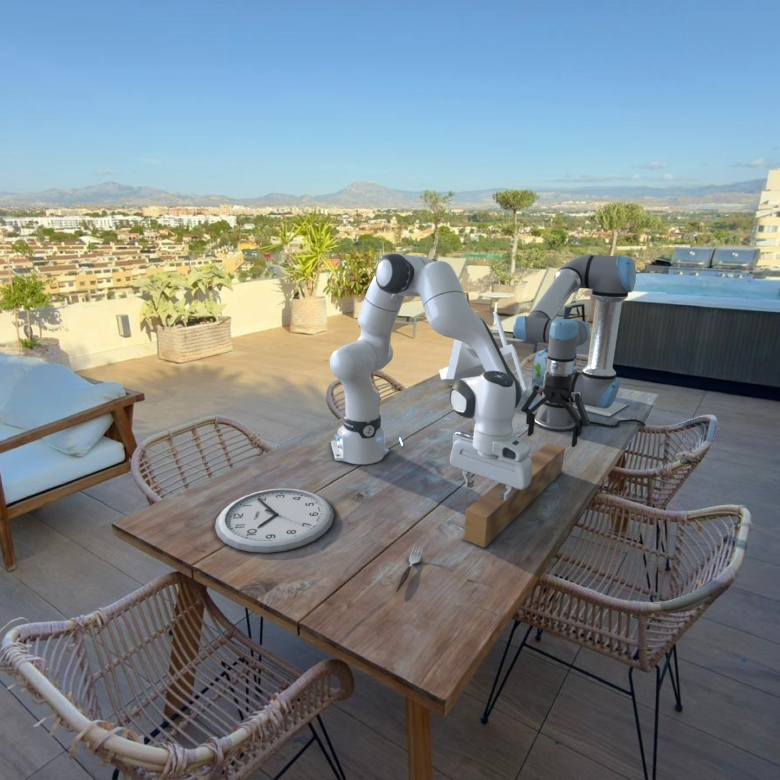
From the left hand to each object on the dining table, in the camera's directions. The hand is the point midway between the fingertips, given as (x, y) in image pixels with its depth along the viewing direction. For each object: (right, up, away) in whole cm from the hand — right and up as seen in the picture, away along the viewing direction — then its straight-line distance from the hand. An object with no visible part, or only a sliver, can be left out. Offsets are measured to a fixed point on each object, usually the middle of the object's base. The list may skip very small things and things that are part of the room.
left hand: (486, 492), depth 127 cm
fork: (-19, -15, -11) cm, 27 cm away
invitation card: (+68, +18, +99) cm, 121 cm away
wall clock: (-53, -9, +9) cm, 55 cm away
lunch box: (+54, +25, +121) cm, 134 cm away
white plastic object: (+18, +24, +116) cm, 120 cm away
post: (+13, -6, +19) cm, 24 cm away
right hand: (+26, +10, +32) cm, 42 cm away
